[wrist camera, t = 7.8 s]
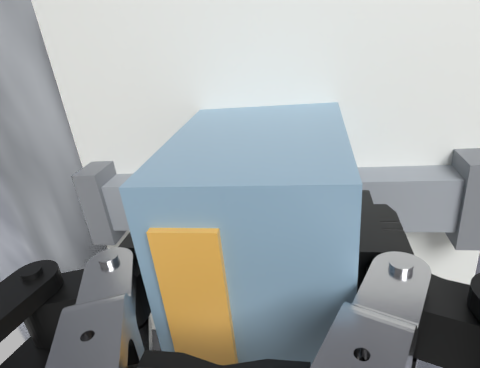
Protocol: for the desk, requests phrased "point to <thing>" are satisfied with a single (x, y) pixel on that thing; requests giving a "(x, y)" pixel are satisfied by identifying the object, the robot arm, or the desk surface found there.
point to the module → (248, 231)
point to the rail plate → (282, 96)
